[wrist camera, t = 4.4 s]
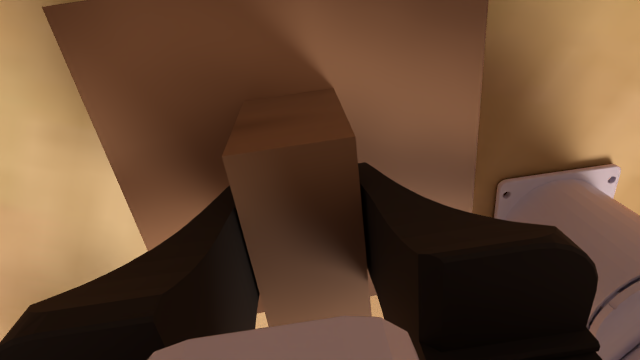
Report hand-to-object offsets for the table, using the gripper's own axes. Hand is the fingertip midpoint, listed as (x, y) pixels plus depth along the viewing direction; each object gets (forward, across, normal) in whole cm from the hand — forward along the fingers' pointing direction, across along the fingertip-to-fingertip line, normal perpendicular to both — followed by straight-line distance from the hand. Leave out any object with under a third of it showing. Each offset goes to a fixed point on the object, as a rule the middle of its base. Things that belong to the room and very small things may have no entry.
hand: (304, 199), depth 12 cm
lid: (+3, 0, 0) cm, 3 cm away
